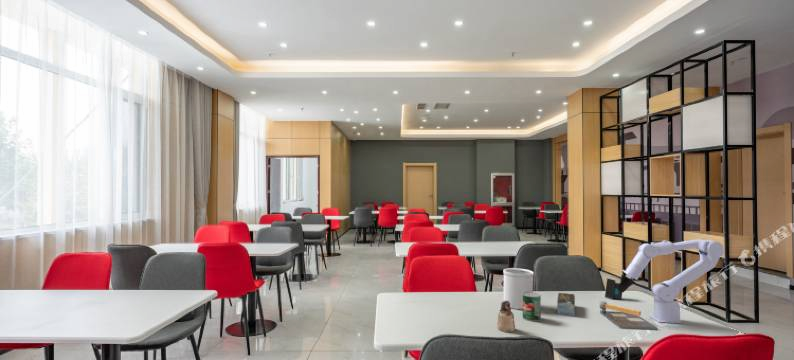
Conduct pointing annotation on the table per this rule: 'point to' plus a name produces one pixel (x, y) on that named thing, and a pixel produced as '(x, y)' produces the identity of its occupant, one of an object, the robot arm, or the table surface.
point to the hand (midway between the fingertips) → (620, 291)
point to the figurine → (506, 318)
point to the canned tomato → (531, 306)
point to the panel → (627, 320)
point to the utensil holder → (517, 285)
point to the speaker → (612, 290)
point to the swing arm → (619, 308)
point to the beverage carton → (566, 304)
